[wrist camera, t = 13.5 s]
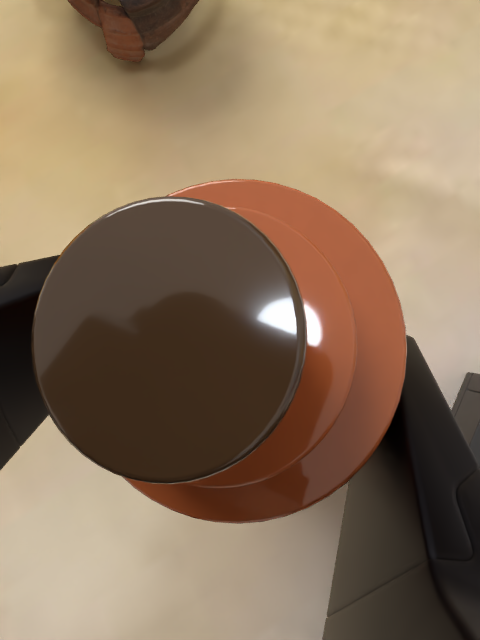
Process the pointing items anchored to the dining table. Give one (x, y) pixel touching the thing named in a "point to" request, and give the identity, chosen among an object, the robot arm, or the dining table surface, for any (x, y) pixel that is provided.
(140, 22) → the brown looped piece
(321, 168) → the dining table surface
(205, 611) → the dining table surface
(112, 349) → the bottle
